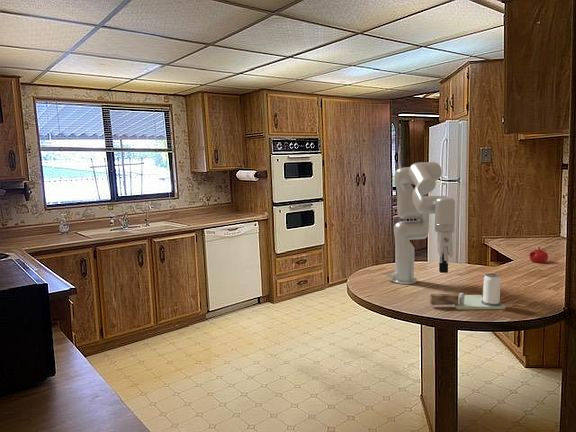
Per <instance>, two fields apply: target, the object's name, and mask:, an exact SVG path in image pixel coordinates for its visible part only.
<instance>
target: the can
mask: <svg viewBox="0 0 576 432" xmlns="http://www.w3.org/2000/svg"><path fill="white" fill-rule="evenodd" d="M483 283H484V287H483V286H482V287H483V301H484V302H485V303H487V304H498V303H499V302H501V301H500V300H501V299H500V298H501V277H500V274H497V273H491V272H490V273H485V274H484V277H483Z"/></svg>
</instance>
